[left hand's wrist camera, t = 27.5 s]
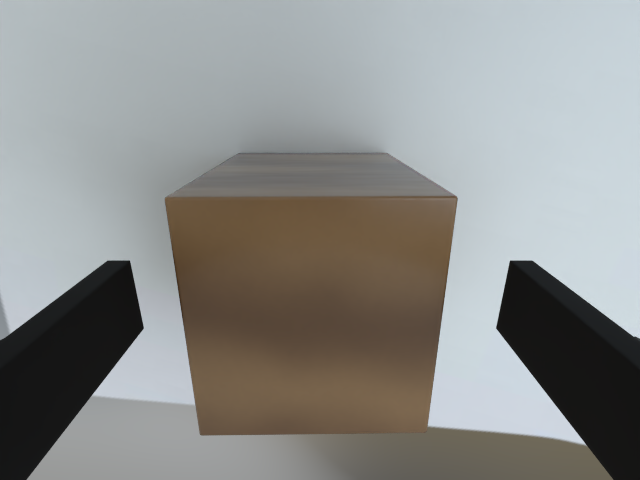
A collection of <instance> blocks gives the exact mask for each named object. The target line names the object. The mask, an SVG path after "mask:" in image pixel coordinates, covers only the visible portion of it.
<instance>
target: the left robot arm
mask: <svg viewBox="0 0 640 480" xmlns="http://www.w3.org/2000/svg"><path fill="white" fill-rule="evenodd" d="M143 329H144V327H143V322H142V317H141V312H140V307H139V303H138V298H137V293H136V288H135V283H134V278H133V273H132V268H131V263H130V261H107V262H105V263H104V264H103V265H101V266H100V267H99V268H97V269H96V270H95V271H93V272H92V273H91V274H89V275H88V276H87V277H85V278H84V279H83V280H81V281H80V282H79V283H77V284H76V285H75V286H73V287H72V288H71V289H69V290H68V291H67V292H65V293H64V294H63V295H61V296H60V297H59V298H57V299H56V300H55V301H53V302H52V303H51V304H49V305H48V306H47V307H45V308H44V309H43V310H41V311H40V312H39V313H37V314H36V315H35V316H33V317H32V318H31V319H30V320H28V321H27V322H26V323H24V324H23V325H22V326H20V327H19V328H18V329H16V330H15V331H14V332H12V333H11V334H10V335H8V336H7V337H6V338H4V339H2V340H0V480H27V478H28V477H29V476H30V474H31V473H32V472H33V471H34V469H35V468H36V467H37V465H38V464H39V463H40V461H41V460H42V459H43V458H44V456H45V455H46V454H47V452H48V451H49V450H50V449H51V447H52V446H53V445H54V443H55V442H56V441H57V439H58V438H59V437H60V436H61V434H62V433H63V432H64V431H65V429H66V428H67V427H68V425H69V424H70V423H71V421H72V420H73V419H74V418H75V416H76V415H77V414H78V412H79V411H80V410H81V409H82V407H83V406H84V405H85V403H86V402H87V401H88V400H89V398H90V397H91V396H92V394H93V393H94V392H95V391H96V389H97V388H98V387H99V385H100V384H101V383H102V382H103V380H104V379H105V378H106V376H107V375H108V374H109V373H110V371H111V370H112V369H113V367H114V366H115V365H116V363H117V362H118V361H119V360H120V358H121V357H122V356H123V354H124V353H125V352H126V351H127V349H128V348H129V347H130V345H131V344H132V343H133V342H134V340H135V339H136V338H137V336H138V335H139V334H140V333H141V331H142V330H143ZM496 329H497V330H498V331H499V333H500V334H501V335H502V336H503V338H504V339H505V340H506V342H507V343H508V344H509V345H510V347H511V348H512V349H513V351H514V352H515V353H516V354H517V356H518V357H519V358H520V360H521V361H522V362H523V363H524V365H525V366H526V367H527V369H528V370H529V371H530V373H531V374H532V375H533V376H534V378H535V379H536V380H537V382H538V383H539V384H540V385H541V387H542V388H543V389H544V391H545V392H546V393H547V394H548V396H549V397H550V398H551V400H552V401H553V402H554V403H555V405H556V406H557V407H558V409H559V410H560V411H561V412H562V414H563V415H564V416H565V418H566V419H567V420H568V422H569V423H570V424H571V425H572V427H573V428H574V429H575V431H576V432H577V433H578V434H579V436H580V437H581V438H582V440H583V441H584V442H585V443H586V445H587V446H588V447H589V449H590V450H591V451H592V452H593V454H594V455H595V456H596V458H597V459H598V460H599V461H600V463H601V464H602V465H603V467H604V468H605V469H606V471H607V472H608V473H609V474H610V476H611V477H612V478H613V480H640V339H639V338H637V337H633V336H632V335H630V334H629V333H628V332H626V331H625V330H624V329H622V328H621V327H620V326H618V325H617V324H616V323H614V322H613V321H612V320H610V319H609V318H608V317H607V316H605V315H604V314H603V313H601V312H600V311H599V310H597V309H596V308H595V307H593V306H592V305H591V304H589V303H588V302H587V301H585V300H584V299H583V298H581V297H580V296H579V295H577V294H576V293H575V292H573V291H572V290H571V289H569V288H568V287H567V286H565V285H564V284H563V283H561V282H560V281H559V280H557V279H556V278H555V277H553V276H552V275H551V274H549V273H548V272H547V271H545V270H544V269H543V268H541V267H540V266H539V265H537V264H536V263H535V262H533V261H510V263H509V268H508V273H507V278H506V283H505V288H504V293H503V298H502V303H501V307H500V312H499V317H498V322H497V327H496Z"/></svg>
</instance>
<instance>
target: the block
mask: <svg viewBox="0 0 640 480" xmlns="http://www.w3.org/2000/svg"><path fill="white" fill-rule="evenodd" d="M165 204H166V211H167V218H168V224H169V231H170V238H171V244H172V251H173V258H174V264H175V271H176V278H177V284H178V291H179V298H180V305H181V311H182V318H183V325H184V331H185V338H186V345H187V351H188V358H189V365H190V371H191V378H192V385H193V391H194V398H195V405H196V411H197V418H198V425H199V431H200V435H274V434H356V433H425V432H427V426H428V418H429V411H430V403H431V395H432V388H433V380H434V373H435V365H436V358H437V350H438V343H439V335H440V327H441V320H442V312H443V305H444V297H445V290H446V282H447V275H448V267H449V259H450V252H451V244H452V237H453V229H454V222H455V214H456V207H457V196H455V195H454V194H452V193H450V192H449V191H447V190H446V189H444V188H442V187H441V186H439V185H438V184H436V183H434V182H433V181H431V180H430V179H428V178H426V177H425V176H423V175H422V174H420V173H418V172H417V171H415V170H414V169H412V168H410V167H409V166H407V165H406V164H404V163H402V162H401V161H399V160H397V159H396V158H394V157H393V156H391V155H389V154H388V153H239V154H237V155H235V156H233V157H232V158H230V159H229V160H227V161H225V162H224V163H222V164H220V165H219V166H217V167H215V168H214V169H212V170H210V171H209V172H207V173H205V174H204V175H202V176H200V177H199V178H197V179H195V180H194V181H192V182H190V183H189V184H187V185H185V186H184V187H182V188H180V189H179V190H177V191H175V192H174V193H172V194H170V195H169V196H167V197H165Z"/></svg>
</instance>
